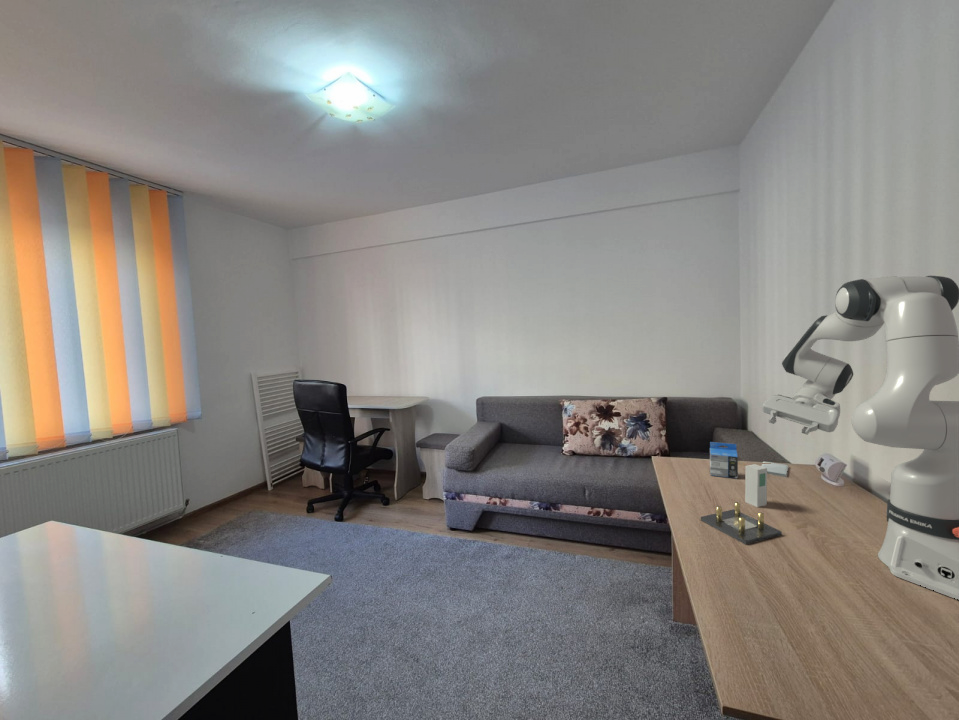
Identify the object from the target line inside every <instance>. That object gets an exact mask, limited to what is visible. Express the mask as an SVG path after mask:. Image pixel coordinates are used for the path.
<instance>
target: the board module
mask: <svg viewBox="0 0 959 720" xmlns="http://www.w3.org/2000/svg"><path fill="white" fill-rule="evenodd" d="M744 472H745V473H744V474H745V476H744V477H745V480H744V482H745V484H744V487H745V488H744V489H745V491H744V493H745V494H744V502H745V503H746V504H748V505H751V506H753V507H756V508H759V507H763V506H764V507H765V506H768V505H767V503H768V501H767V500H768V499H767V497H768V474H767V468H765V467H762V466H761V465H759V464H756V463H753V464H749V465H745V471H744Z"/></svg>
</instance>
